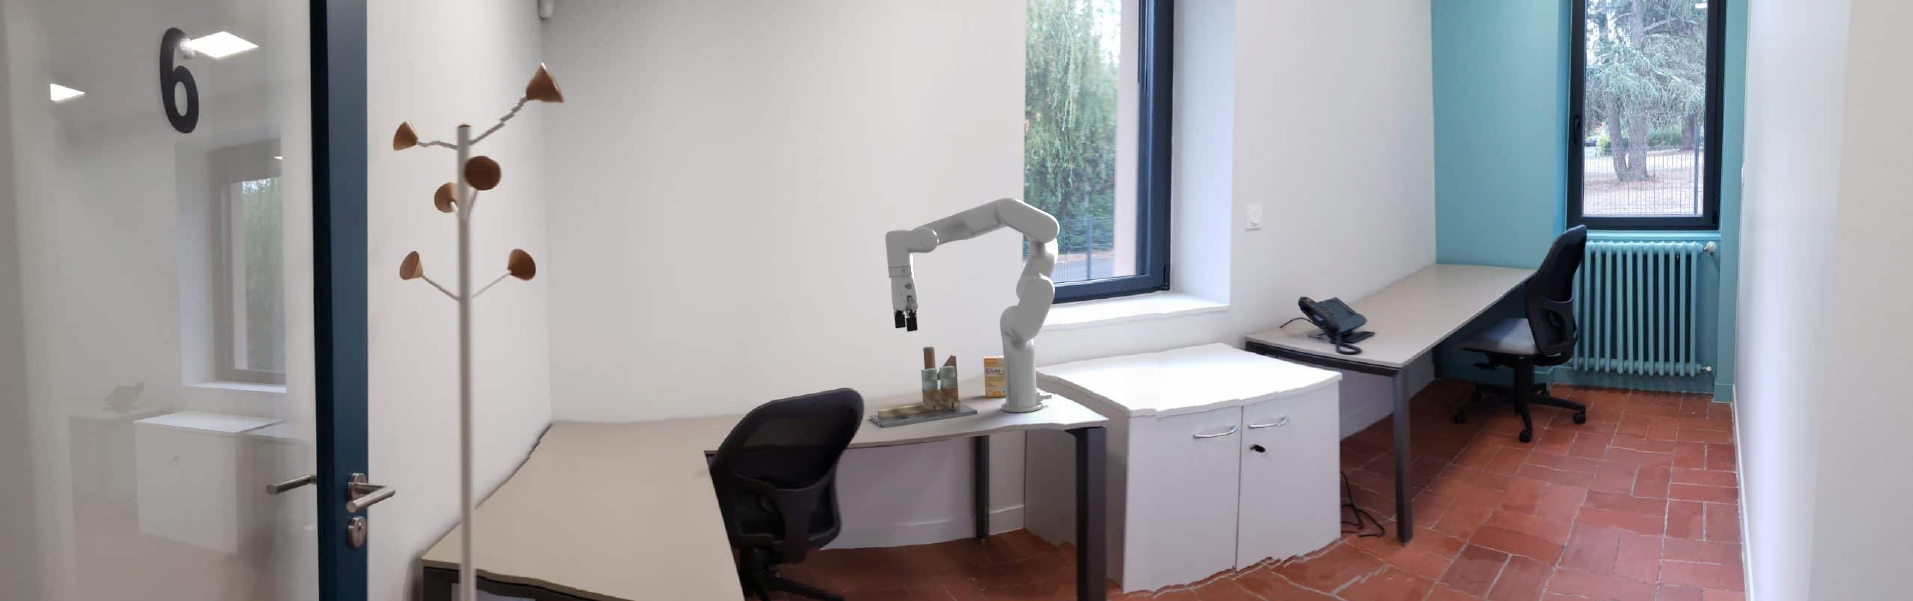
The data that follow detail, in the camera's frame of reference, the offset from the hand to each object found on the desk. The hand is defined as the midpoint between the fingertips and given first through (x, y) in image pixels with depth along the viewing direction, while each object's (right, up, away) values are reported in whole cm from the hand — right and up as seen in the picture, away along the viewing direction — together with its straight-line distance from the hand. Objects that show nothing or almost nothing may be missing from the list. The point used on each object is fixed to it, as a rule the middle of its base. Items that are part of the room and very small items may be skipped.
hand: (906, 329), depth 311 cm
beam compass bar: (+4, -26, +8) cm, 27 cm away
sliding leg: (+7, -25, +9) cm, 27 cm away
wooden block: (+10, -24, +29) cm, 39 cm away
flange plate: (+5, -27, +8) cm, 28 cm away
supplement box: (+29, -23, +31) cm, 48 cm away
